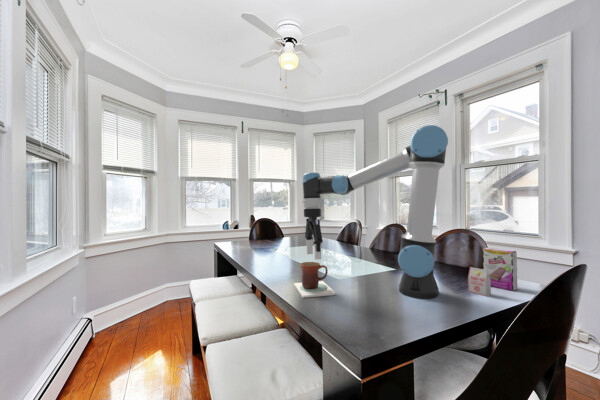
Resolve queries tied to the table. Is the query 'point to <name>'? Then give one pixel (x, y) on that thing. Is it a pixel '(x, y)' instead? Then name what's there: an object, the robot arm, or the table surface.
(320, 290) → the card
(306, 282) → the mug
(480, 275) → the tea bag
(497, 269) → the candy bar box
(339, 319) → the table surface
